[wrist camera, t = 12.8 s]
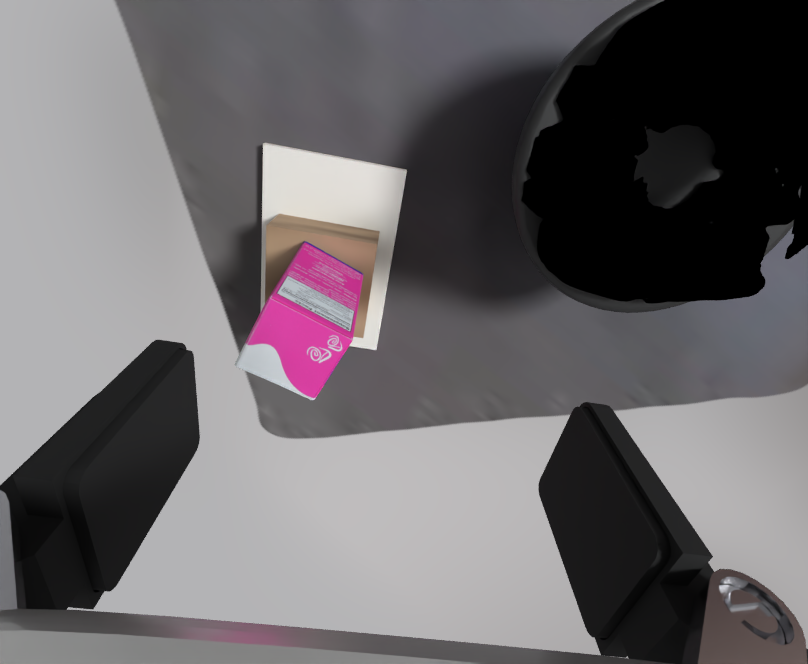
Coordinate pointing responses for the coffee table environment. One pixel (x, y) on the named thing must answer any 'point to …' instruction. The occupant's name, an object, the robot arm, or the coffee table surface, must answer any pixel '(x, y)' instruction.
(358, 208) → the board
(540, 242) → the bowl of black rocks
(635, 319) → the coffee table surface
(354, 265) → the walnut block
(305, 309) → the supplement box
